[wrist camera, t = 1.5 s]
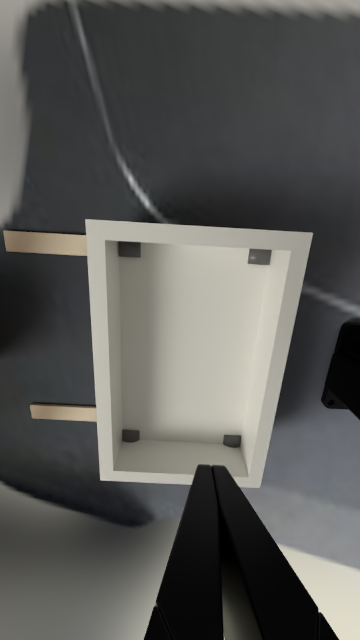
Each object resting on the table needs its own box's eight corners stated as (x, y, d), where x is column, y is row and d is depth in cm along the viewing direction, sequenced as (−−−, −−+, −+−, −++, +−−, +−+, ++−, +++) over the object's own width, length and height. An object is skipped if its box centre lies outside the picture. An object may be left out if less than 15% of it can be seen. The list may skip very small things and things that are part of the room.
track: (282, 246, 15) (283, 246, 15) (251, 427, 19) (251, 429, 19) (5, 230, 15) (3, 230, 14) (33, 416, 19) (32, 418, 19)
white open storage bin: (277, 235, 14) (313, 232, 10) (243, 438, 19) (259, 487, 15) (111, 226, 14) (85, 219, 10) (117, 431, 19) (100, 480, 15)
